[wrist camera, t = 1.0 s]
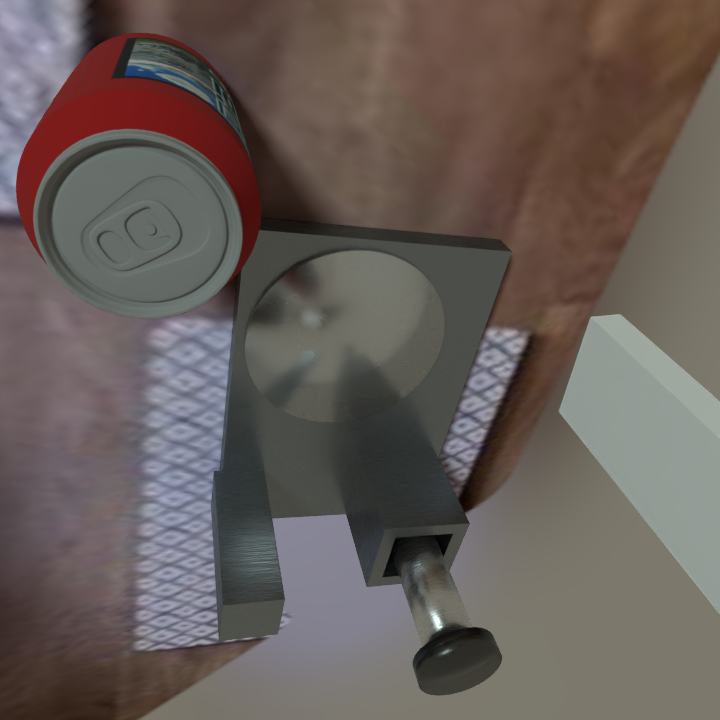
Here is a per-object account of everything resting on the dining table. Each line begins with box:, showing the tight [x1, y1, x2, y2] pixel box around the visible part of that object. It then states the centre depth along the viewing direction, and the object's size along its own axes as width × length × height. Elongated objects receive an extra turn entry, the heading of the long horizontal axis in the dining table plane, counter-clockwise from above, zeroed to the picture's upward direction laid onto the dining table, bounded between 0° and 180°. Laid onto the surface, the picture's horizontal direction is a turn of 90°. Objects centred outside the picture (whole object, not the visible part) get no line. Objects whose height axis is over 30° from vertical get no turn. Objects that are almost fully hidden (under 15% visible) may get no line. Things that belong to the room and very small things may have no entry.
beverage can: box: [16, 33, 261, 319], centre depth 21 cm, size 7×7×12 cm
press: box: [211, 218, 512, 641], centre depth 33 cm, size 14×20×10 cm
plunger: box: [391, 535, 502, 695], centre depth 34 cm, size 4×4×9 cm
